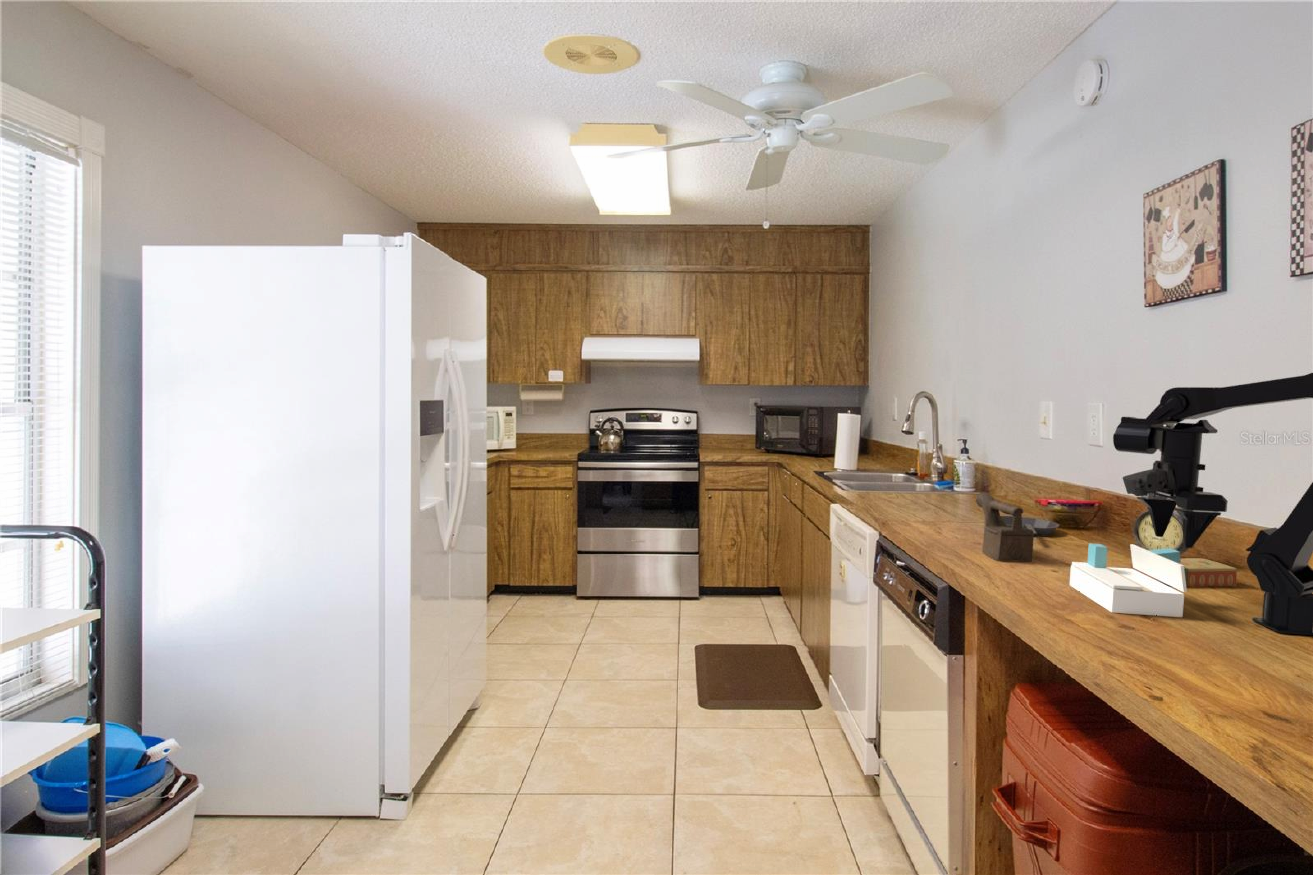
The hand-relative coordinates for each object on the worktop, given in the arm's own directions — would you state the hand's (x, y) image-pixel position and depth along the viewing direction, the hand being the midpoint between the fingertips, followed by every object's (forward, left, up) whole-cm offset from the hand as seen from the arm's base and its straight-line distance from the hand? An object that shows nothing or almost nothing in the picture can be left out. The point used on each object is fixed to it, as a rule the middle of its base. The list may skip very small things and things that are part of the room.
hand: (1173, 541), depth 127 cm
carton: (+16, -11, -12) cm, 22 cm away
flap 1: (-2, +12, -7) cm, 14 cm away
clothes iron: (+31, +19, -11) cm, 38 cm away
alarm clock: (+35, -17, -11) cm, 40 cm away
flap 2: (-2, +4, -4) cm, 6 cm away
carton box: (-2, +9, -11) cm, 14 cm away
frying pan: (+57, +5, -11) cm, 58 cm away
